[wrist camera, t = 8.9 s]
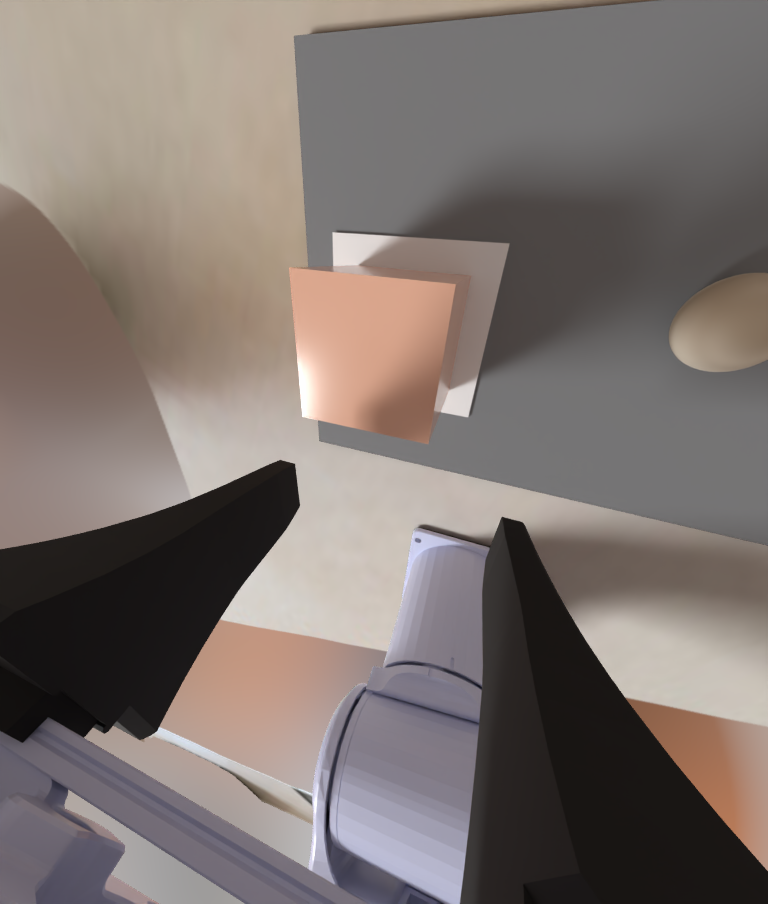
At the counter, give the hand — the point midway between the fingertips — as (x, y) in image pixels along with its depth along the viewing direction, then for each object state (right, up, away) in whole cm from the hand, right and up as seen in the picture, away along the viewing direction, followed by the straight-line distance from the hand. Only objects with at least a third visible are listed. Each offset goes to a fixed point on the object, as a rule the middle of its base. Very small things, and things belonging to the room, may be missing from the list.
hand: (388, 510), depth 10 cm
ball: (+13, +7, +2) cm, 15 cm away
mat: (+9, +8, +4) cm, 12 cm away
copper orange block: (+1, +8, +5) cm, 10 cm away
